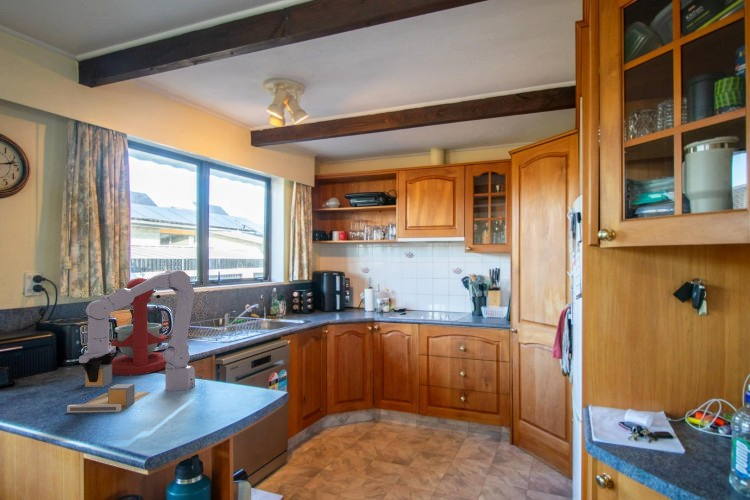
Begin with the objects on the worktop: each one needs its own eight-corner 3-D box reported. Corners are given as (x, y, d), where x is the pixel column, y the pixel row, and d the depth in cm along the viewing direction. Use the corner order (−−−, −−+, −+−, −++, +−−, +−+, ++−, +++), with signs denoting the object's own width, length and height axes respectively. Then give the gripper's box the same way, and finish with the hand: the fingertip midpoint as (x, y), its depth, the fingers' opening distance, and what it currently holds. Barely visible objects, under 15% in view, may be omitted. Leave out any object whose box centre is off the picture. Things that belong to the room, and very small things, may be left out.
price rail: (121, 410, 125) (121, 403, 125) (119, 411, 124) (119, 405, 124) (69, 411, 125) (69, 404, 125) (66, 412, 124) (66, 406, 124)
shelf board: (151, 395, 142) (151, 392, 142) (119, 415, 124) (119, 411, 124) (105, 396, 142) (105, 392, 142) (67, 416, 124) (67, 412, 124)
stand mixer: (165, 356, 200) (165, 276, 201) (173, 370, 174) (173, 278, 175) (108, 363, 187) (108, 277, 188) (107, 380, 161) (107, 280, 162)
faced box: (134, 402, 132) (134, 384, 132) (126, 407, 128) (126, 388, 128) (116, 402, 132) (116, 384, 132) (107, 407, 128) (107, 388, 128)
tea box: (111, 382, 132) (112, 364, 132) (103, 386, 128) (103, 367, 128) (93, 382, 132) (93, 364, 132) (84, 387, 128) (84, 368, 128)
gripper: (101, 333, 138) (101, 373, 137) (69, 342, 123) (69, 386, 123) (121, 333, 138) (121, 373, 137) (92, 342, 123) (92, 386, 123)
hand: (98, 379), depth 130 cm, fingers closed on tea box, 4 cm apart
